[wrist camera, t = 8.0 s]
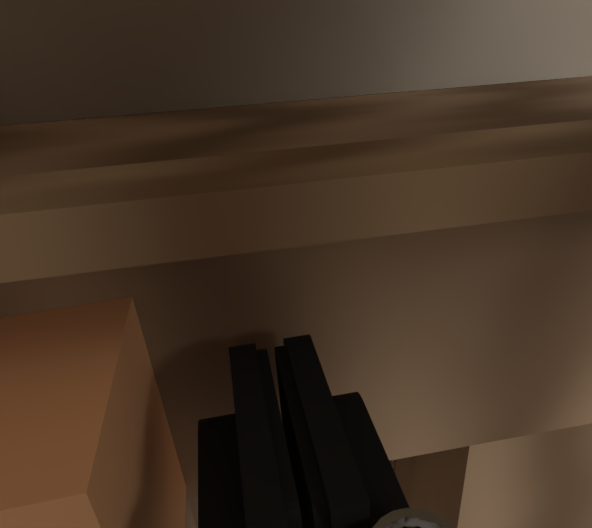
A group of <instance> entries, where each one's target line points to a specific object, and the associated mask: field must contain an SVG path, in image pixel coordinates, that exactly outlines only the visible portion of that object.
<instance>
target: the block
mask: <svg viewBox="0 0 592 528" xmlns="http://www.w3.org/2000/svg"><path fill="white" fill-rule="evenodd" d="M185 511H186V484H185V481H184V477H183V474H182V470H181V467H180V463H179V460H178V456H177V453H176V449H175V446H174V442H173V439H172V435H171V432H170V428H169V425H168V421H167V418H166V414H165V410H164V407H163V403H162V400H161V396H160V393H159V389H158V386H157V382H156V379H155V375H154V372H153V368H152V365H151V361H150V358H149V354H148V351H147V347H146V344H145V340H144V337H143V333H142V329H141V326H140V322H139V319H138V315H137V312H136V308H135V305H134V301H133V298H132V297H127V298H120V299H114V300H108V301H102V302H96V303H90V304H83V305H77V306H71V307H65V308H59V309H53V310H47V311H40V312H34V313H28V314H22V315H16V316H10V317H3V318H0V528H185Z"/></svg>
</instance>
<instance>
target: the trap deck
mask: <svg viewBox="0 0 592 528" xmlns="http://www.w3.org/2000/svg"><path fill="white" fill-rule="evenodd" d="M127 297H132V298H133V301H134V305H135V308H136V312H137V315H138V319H139V322H140V326H141V329H142V333H143V337H144V340H145V344H146V347H147V351H148V354H149V358H150V361H151V365H152V368H153V372H154V375H155V379H156V382H157V386H158V389H159V393H160V396H161V400H162V403H163V407H164V410H165V414H166V418H167V421H168V425H169V428H170V432H171V435H172V439H173V442H174V446H175V449H176V453H177V456H178V460H179V463H180V467H181V470H182V474H183V477H184V481H185V484H186V511H185V528H198V421H199V420H200V419H206V418H211V417H217V416H223V415H228V414H234V413H235V408H234V397H233V387H232V376H231V366H230V356H229V347H233V346H239V345H246V344H252V343H255V345H256V350H259V349H267V353H268V357H269V362H270V367H271V372H272V376H273V381H274V386H275V391H276V395H277V400H278V405H279V410H280V414H281V407H280V398H279V388H278V379H277V369H276V360H275V349H274V348H275V347H278V346H284V343H283V339H284V338H289V337H295V336H302V335H308V334H309V335H310V336H311V338H312V341H313V344H314V347H315V349H316V352H317V355H318V358H319V361H320V363H321V366H322V369H323V372H324V375H325V377H326V380H327V383H328V386H329V389H330V391H331V394H332V396H336V395H341V394H347V393H352V392H358V393H359V394H360V395H361V397H362V399H363V401H364V404H365V406H366V408H367V410H368V413H369V415H370V417H371V420H372V422H373V424H374V427H375V429H376V431H377V434H378V436H379V438H380V440H381V443H382V445H383V447H384V450H385V452H386V454H387V457H388V459H389V461H391V460H396V463H395V475H396V477H397V480H398V482H399V484H400V487H401V489H402V491H403V493H404V496H405V498H406V500H407V503H408V505H409V507H410V508H417V509H424V510H427V511H430V512H432V513H435V514H438V515H439V516H441V517H442V518H444V519H445V520H447V521H448V522H450V523H451V524H452V525H453V526H454V527H455V528H592V76H589V77H577V78H565V79H553V80H541V81H529V82H518V83H506V84H494V85H482V86H470V87H458V88H446V89H434V90H422V91H410V92H398V93H386V94H374V95H362V96H351V97H339V98H327V99H315V100H303V101H291V102H279V103H267V104H255V105H243V106H231V107H219V108H207V109H196V110H184V111H172V112H160V113H148V114H136V115H124V116H112V117H100V118H88V119H76V120H64V121H52V122H40V123H29V124H17V125H5V126H0V318H3V317H10V316H16V315H22V314H28V313H34V312H40V311H47V310H53V309H59V308H65V307H71V306H77V305H83V304H90V303H96V302H102V301H108V300H114V299H120V298H127ZM281 419H282V416H281Z"/></svg>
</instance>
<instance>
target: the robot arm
mask: <svg viewBox="0 0 592 528" xmlns="http://www.w3.org/2000/svg"><path fill="white" fill-rule="evenodd" d="M283 343H284V346H278V347H275V348H274V349H275V360H276V369H277V379H278V388H279V398H280V407H281V414H280V410H279V405H278V400H277V395H276V391H275V386H274V381H273V376H272V372H271V367H270V362H269V357H268V353H267V349H259V350H256V345H255V343H252V344H246V345H239V346H233V347H229V356H230V366H231V376H232V387H233V397H234V408H235V413H234V414H228V415H223V416H217V417H211V418H206V419H200V420H199V421H198V528H455V527H454V526H453V525H452V524H451V523H450V522H448V521H447V520H445V519H444V518H442V517H441V516H439V515H438V514H435V513H432V512H430V511H427V510H424V509H417V508H410V507H409V505H408V503H407V500H406V498H405V496H404V493H403V491H402V489H401V487H400V484H399V482H398V480H397V477H396V475H395V473H394V470H393V468H392V466H391V463H390V461H389V459H388V457H387V454H386V452H385V450H384V447H383V445H382V443H381V440H380V438H379V436H378V434H377V431H376V429H375V427H374V424H373V422H372V420H371V417H370V415H369V413H368V410H367V408H366V406H365V404H364V401H363V399H362V397H361V395H360V394H359V393H358V392H352V393H347V394H341V395H336V396H332V394H331V391H330V389H329V386H328V383H327V380H326V377H325V375H324V372H323V369H322V366H321V363H320V361H319V358H318V355H317V352H316V349H315V347H314V344H313V341H312V338H311V336H310V335H309V334H308V335H302V336H295V337H289V338H284V339H283ZM281 416H282V419H281Z"/></svg>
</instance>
